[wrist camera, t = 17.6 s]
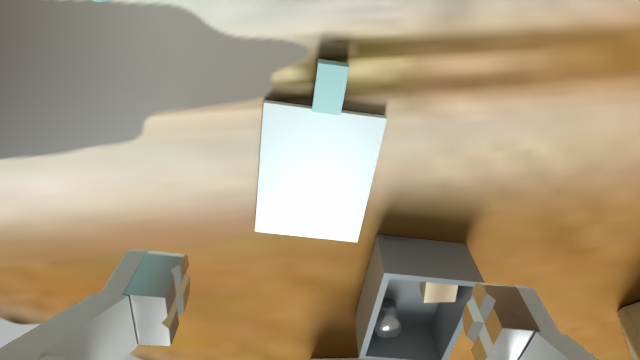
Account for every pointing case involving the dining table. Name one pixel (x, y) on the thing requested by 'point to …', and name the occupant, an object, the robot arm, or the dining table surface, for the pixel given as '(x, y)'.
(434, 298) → the beech block
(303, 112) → the lid
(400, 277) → the tub
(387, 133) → the dining table surface
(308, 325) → the dining table surface
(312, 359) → the supplement box
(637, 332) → the flower pot
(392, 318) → the grey glossy rounded piece
